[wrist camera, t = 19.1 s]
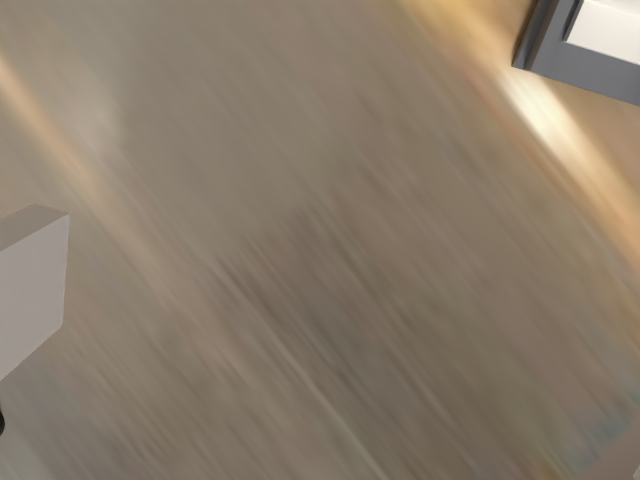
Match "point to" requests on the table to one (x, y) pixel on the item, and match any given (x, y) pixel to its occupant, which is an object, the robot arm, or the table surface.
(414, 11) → the table surface
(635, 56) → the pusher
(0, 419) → the drinking cup
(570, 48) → the lane
